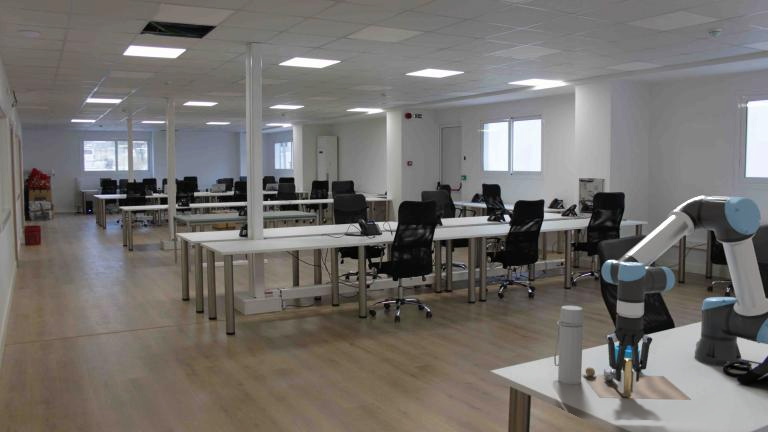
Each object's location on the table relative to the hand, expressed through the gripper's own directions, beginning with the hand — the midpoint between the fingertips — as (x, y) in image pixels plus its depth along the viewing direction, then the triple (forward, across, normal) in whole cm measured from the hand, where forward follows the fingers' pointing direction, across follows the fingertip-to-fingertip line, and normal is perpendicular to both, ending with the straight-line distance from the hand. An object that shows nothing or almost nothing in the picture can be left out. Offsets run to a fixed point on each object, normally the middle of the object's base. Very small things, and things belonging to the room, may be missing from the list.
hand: (626, 391), depth 192 cm
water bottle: (+3, +14, -15) cm, 21 cm away
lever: (+1, 0, -8) cm, 9 cm away
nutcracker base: (+3, -6, -10) cm, 12 cm away
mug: (+3, -12, -30) cm, 32 cm away
